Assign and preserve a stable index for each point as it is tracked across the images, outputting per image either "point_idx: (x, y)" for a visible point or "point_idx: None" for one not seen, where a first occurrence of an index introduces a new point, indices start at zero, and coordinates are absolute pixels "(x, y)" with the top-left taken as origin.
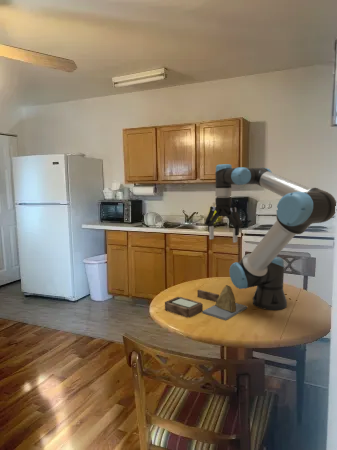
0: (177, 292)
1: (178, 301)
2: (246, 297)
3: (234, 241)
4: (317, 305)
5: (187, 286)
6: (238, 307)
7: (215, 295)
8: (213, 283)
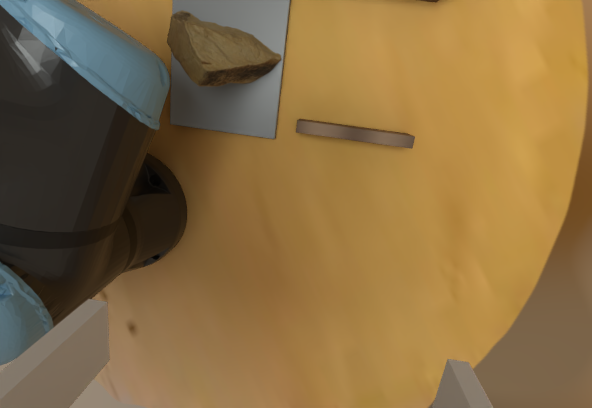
0: (522, 137)
1: None
2: (228, 232)
3: (78, 307)
4: None
5: (511, 236)
6: (189, 88)
7: (308, 121)
8: (417, 323)
